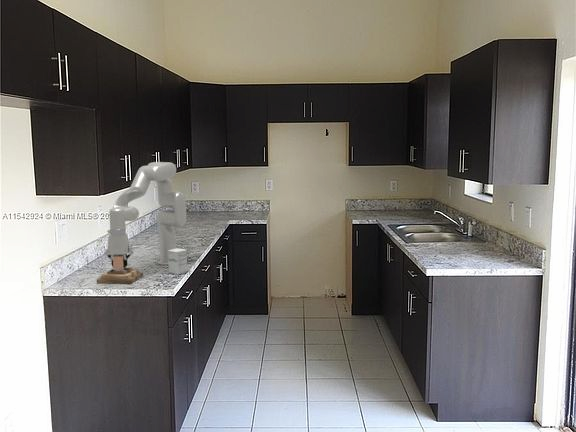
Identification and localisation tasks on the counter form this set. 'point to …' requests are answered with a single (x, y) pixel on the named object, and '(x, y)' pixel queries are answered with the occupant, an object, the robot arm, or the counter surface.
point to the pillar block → (118, 262)
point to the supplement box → (177, 261)
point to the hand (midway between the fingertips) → (119, 266)
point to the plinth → (109, 281)
